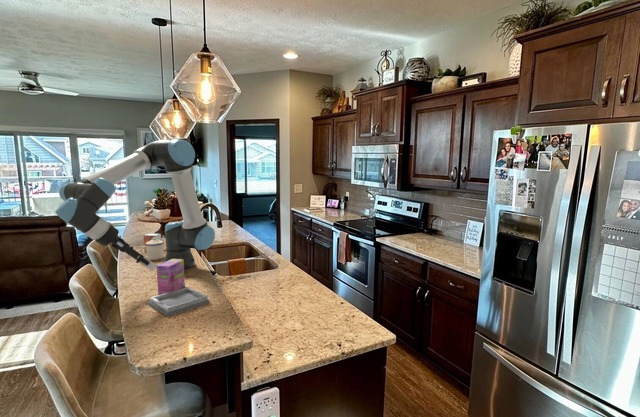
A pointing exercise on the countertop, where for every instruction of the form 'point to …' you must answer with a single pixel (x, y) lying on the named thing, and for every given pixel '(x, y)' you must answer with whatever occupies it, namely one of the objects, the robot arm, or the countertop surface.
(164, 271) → the box
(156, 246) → the teacup with lid
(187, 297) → the gray square tray
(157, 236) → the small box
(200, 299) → the steel rail frame
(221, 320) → the countertop surface
